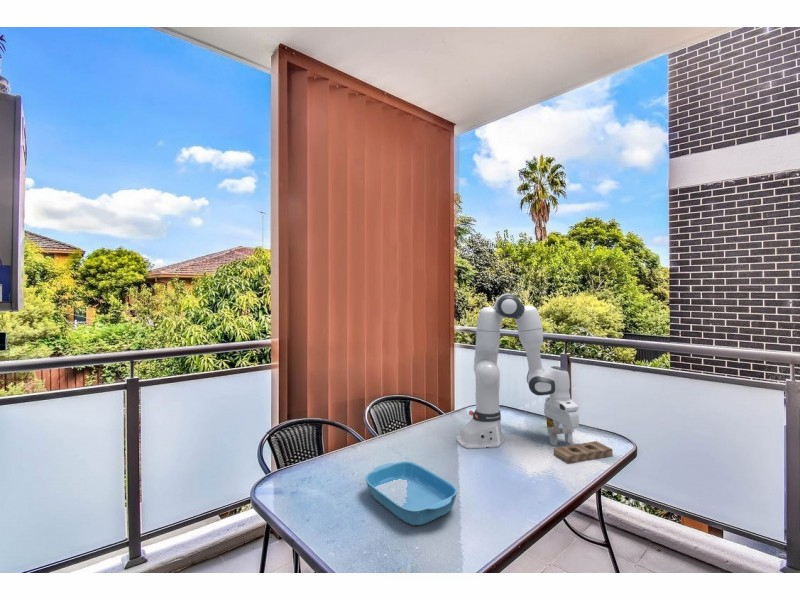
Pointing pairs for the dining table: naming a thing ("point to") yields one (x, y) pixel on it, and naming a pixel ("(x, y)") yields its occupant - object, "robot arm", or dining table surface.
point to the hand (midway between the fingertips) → (560, 431)
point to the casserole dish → (413, 492)
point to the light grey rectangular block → (557, 430)
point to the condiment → (550, 423)
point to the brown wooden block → (582, 452)
